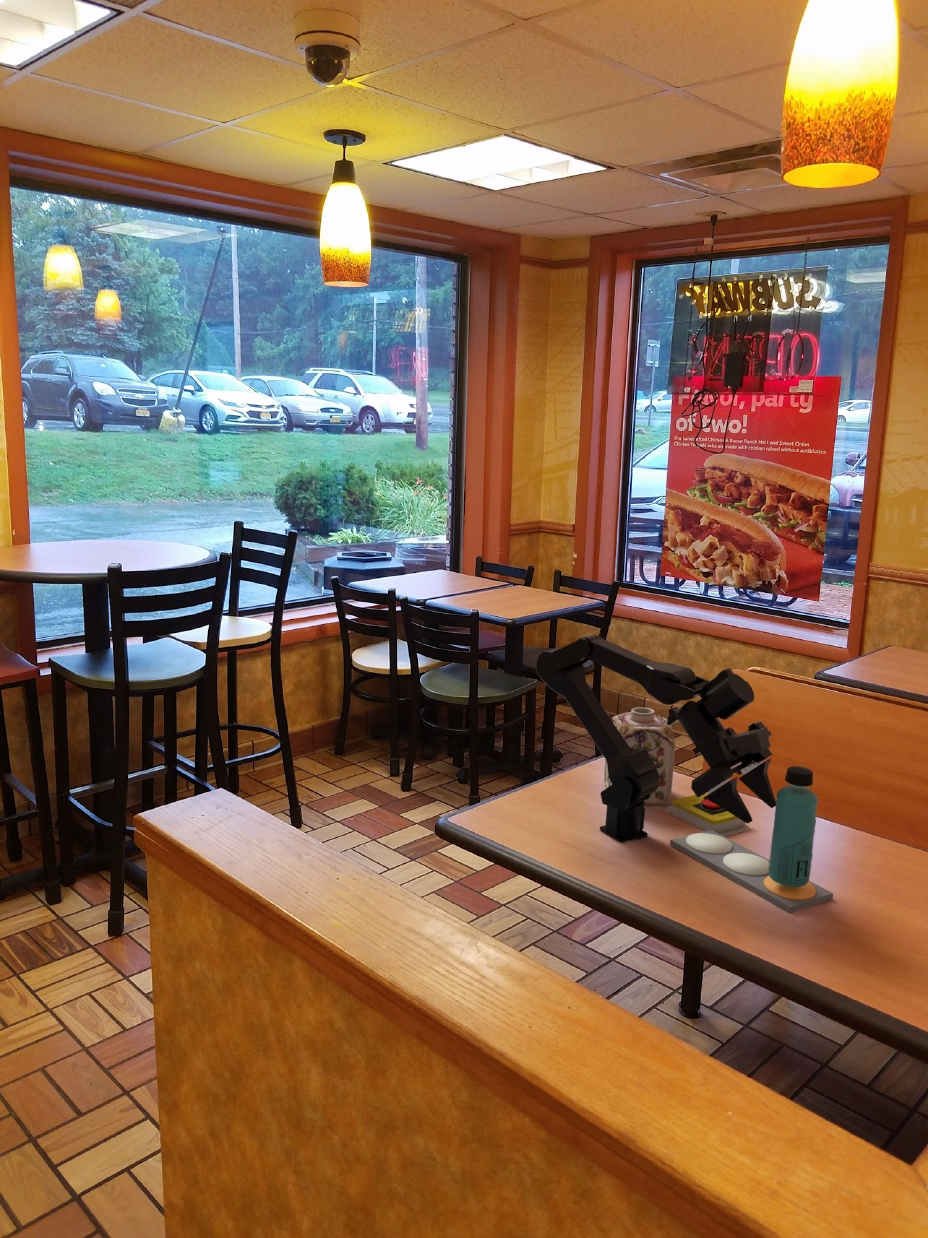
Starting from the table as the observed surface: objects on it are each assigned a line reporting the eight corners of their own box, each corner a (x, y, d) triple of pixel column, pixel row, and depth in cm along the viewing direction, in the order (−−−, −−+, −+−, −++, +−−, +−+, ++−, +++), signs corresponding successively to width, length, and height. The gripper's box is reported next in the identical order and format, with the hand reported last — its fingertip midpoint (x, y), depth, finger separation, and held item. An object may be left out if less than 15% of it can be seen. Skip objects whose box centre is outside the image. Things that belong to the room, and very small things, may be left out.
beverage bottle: (794, 900, 147) (808, 780, 143) (757, 884, 152) (770, 767, 148) (816, 889, 151) (831, 771, 147) (780, 873, 156) (793, 759, 152)
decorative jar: (671, 806, 186) (678, 719, 183) (612, 805, 186) (619, 717, 182) (657, 784, 198) (664, 702, 194) (602, 782, 198) (608, 700, 194)
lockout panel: (789, 913, 146) (790, 905, 145) (669, 844, 168) (670, 838, 168) (832, 899, 151) (833, 891, 150) (710, 834, 173) (711, 828, 173)
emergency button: (720, 818, 171) (662, 790, 184) (718, 841, 172) (660, 811, 185) (755, 809, 176) (696, 783, 189) (752, 831, 177) (694, 803, 189)
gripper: (716, 720, 147) (775, 807, 142) (767, 698, 160) (823, 777, 155) (667, 754, 153) (722, 839, 148) (720, 731, 167) (772, 807, 162)
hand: (762, 814), depth 153 cm, fingers open, 9 cm apart
